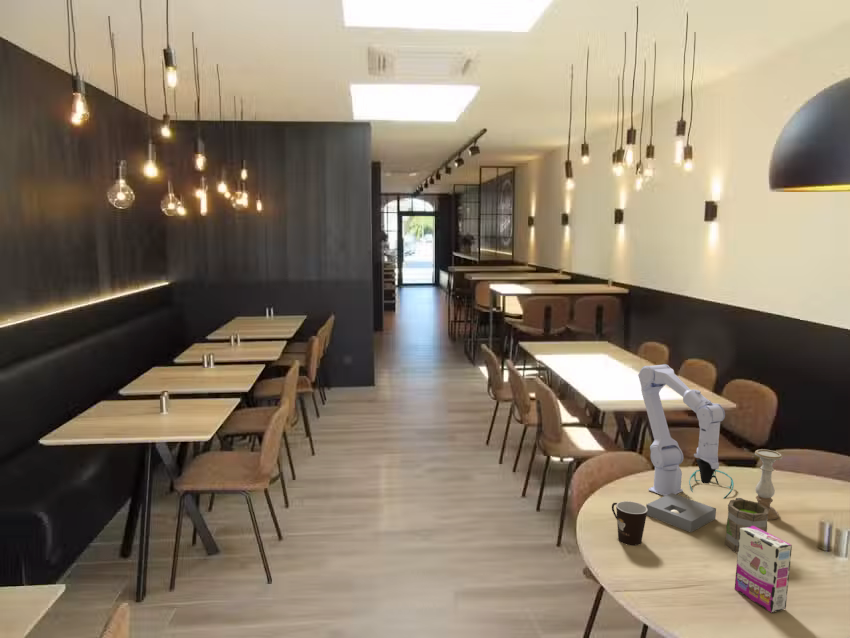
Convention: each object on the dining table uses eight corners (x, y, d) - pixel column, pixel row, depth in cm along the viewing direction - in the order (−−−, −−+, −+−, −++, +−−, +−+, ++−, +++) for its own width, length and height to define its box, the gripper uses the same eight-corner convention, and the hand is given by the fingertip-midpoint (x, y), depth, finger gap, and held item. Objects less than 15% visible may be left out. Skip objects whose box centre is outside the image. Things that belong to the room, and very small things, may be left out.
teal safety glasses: (735, 486, 226) (736, 473, 225) (729, 505, 214) (730, 491, 212) (693, 477, 233) (693, 465, 232) (685, 495, 221) (686, 482, 220)
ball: (679, 521, 198) (667, 519, 198) (679, 509, 198) (667, 508, 199) (681, 522, 194) (669, 521, 195) (681, 511, 195) (669, 509, 195)
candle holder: (776, 522, 197) (782, 460, 194) (745, 514, 202) (750, 453, 199) (780, 513, 204) (786, 452, 201) (750, 505, 209) (755, 446, 206)
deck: (671, 502, 210) (671, 492, 210) (715, 519, 199) (716, 508, 198) (645, 514, 201) (646, 504, 200) (690, 532, 189) (691, 521, 189)
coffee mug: (649, 547, 179) (651, 514, 178) (619, 547, 180) (621, 513, 178) (636, 528, 191) (638, 497, 190) (608, 528, 191) (609, 496, 190)
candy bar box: (787, 609, 150) (793, 544, 148) (771, 614, 149) (777, 548, 146) (748, 585, 161) (753, 524, 159) (733, 589, 159) (738, 527, 157)
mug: (771, 558, 175) (775, 517, 173) (729, 554, 177) (733, 513, 175) (754, 532, 190) (757, 494, 188) (715, 528, 192) (718, 490, 190)
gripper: (688, 434, 209) (685, 473, 211) (703, 448, 195) (700, 491, 197) (710, 435, 208) (707, 474, 210) (727, 449, 194) (723, 492, 196)
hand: (705, 482), depth 203 cm, fingers closed
